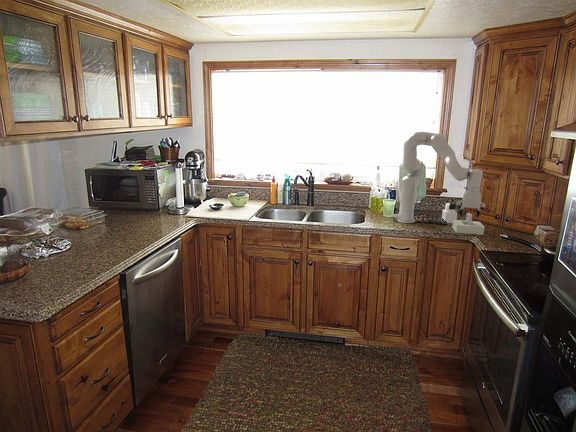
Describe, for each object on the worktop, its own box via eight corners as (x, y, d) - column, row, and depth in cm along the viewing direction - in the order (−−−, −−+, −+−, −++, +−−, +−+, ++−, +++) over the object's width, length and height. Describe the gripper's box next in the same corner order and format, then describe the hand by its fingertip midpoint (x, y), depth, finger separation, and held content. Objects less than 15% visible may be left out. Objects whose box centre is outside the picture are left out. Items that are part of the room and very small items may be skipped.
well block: (456, 232, 248) (457, 225, 247) (452, 227, 261) (453, 219, 259) (483, 234, 245) (484, 227, 244) (478, 229, 258) (479, 221, 256)
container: (452, 220, 277) (455, 202, 274) (456, 223, 269) (458, 205, 266) (441, 220, 278) (443, 202, 274) (444, 223, 270) (446, 204, 267)
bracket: (464, 232, 251) (466, 215, 248) (462, 229, 256) (464, 212, 254) (472, 232, 250) (475, 215, 247) (470, 230, 255) (472, 213, 253)
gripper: (459, 189, 244) (455, 216, 249) (489, 191, 241) (485, 218, 246) (457, 187, 252) (453, 213, 256) (486, 189, 248) (482, 215, 253)
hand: (468, 216), depth 251 cm, fingers open, 9 cm apart
